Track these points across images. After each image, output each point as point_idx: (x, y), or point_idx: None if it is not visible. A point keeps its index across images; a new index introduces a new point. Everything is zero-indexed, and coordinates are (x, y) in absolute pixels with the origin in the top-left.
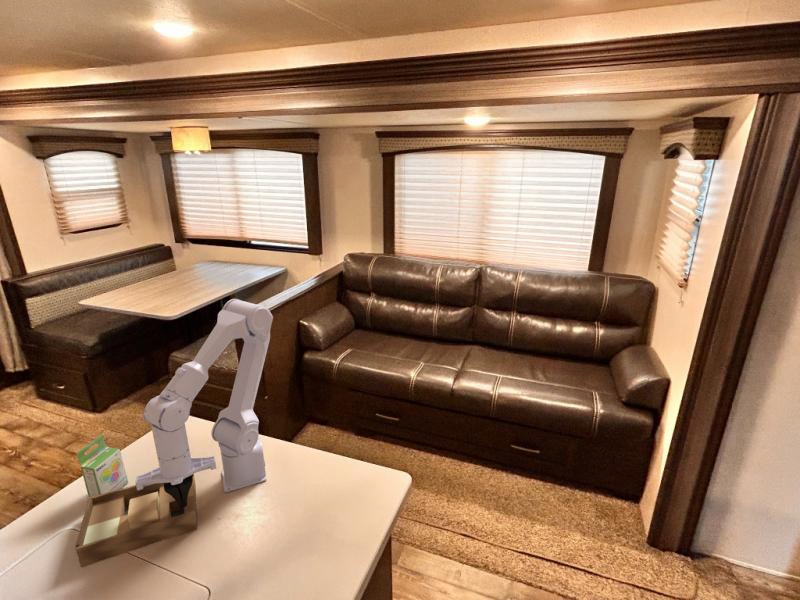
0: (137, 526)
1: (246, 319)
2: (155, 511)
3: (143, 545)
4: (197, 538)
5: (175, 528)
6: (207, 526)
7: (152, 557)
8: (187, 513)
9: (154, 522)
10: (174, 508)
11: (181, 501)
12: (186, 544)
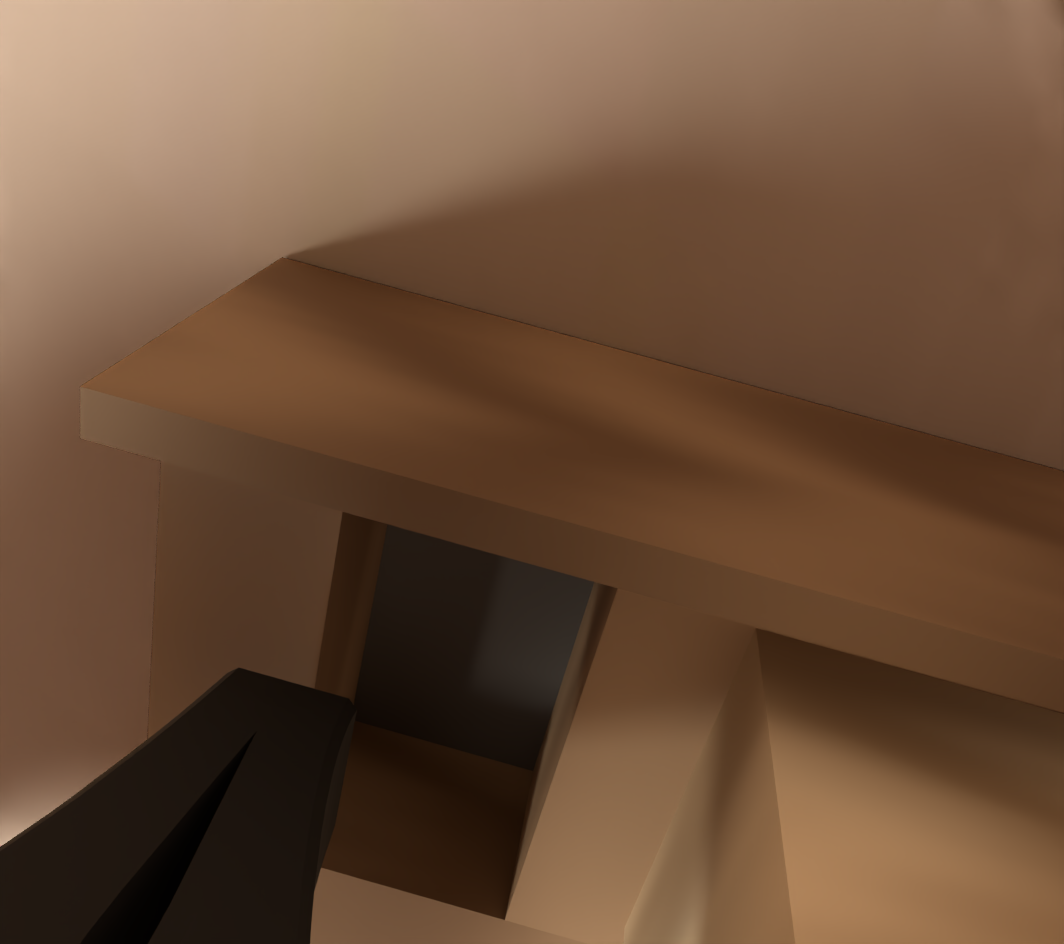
0: None
1: None
2: (825, 912)
3: (1035, 474)
4: (306, 53)
5: (550, 396)
6: (135, 208)
7: (1021, 150)
8: (216, 457)
9: (844, 698)
10: (476, 790)
11: (225, 803)
12: (486, 44)
